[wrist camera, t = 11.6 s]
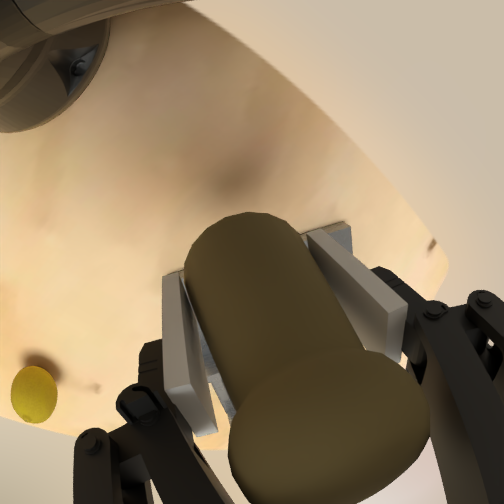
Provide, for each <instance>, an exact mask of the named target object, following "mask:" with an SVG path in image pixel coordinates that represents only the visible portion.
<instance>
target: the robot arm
mask: <svg viewBox="0 0 504 504" xmlns="http://www.w3.org/2000/svg"><path fill="white" fill-rule="evenodd" d="M185 1H192V0H0V133H13V132H21V131H26V130H30V129H33V128H36V127H39V126H41V125H43V124H45V123H47V122H49V121H51V120H52V119H54V118H55V117H57V116H58V115H60V114H61V113H62V112H64V111H65V110H66V109H67V108H68V107H69V106H71V105H72V104H73V103H74V102H75V101H76V99H77V98H78V97H79V96H80V95H81V94H82V93H83V91H84V90H85V89H86V87H87V86H88V85H89V83H90V82H91V80H92V79H93V77H94V75H95V74H96V72H97V70H98V68H99V66H100V64H101V62H102V59H103V57H104V54H105V51H106V48H107V44H108V40H109V33H110V17H113V16H116V15H120V14H124V13H128V12H132V11H136V10H140V9H144V8H149V7H154V6H159V5H165V4H171V3H178V2H185ZM306 236H307V243H308V250H309V251H310V253H311V255H312V256H313V258H314V260H315V261H316V263H317V265H318V266H319V268H320V270H321V272H322V273H323V275H324V277H325V279H326V280H327V282H328V284H329V285H330V287H331V289H332V291H333V292H334V294H335V296H336V298H337V299H338V301H339V303H340V305H341V307H342V308H343V310H344V312H345V314H346V316H347V317H348V319H349V321H350V323H351V325H352V326H353V328H354V330H355V332H356V334H357V335H358V337H359V339H360V341H361V343H362V344H363V346H364V347H365V348H366V350H368V351H374V352H380V353H382V354H384V355H386V356H387V357H389V358H390V359H392V360H393V361H395V362H396V363H399V362H400V360H401V354H402V352H403V353H404V354H405V355H406V356H407V357H408V360H407V365H406V371H407V372H408V373H409V374H410V375H411V376H412V377H413V378H414V379H415V381H416V382H417V383H418V384H419V385H420V386H421V388H422V389H423V392H424V394H425V397H426V399H427V401H428V404H429V407H430V437H431V441H432V445H433V448H434V451H435V455H436V459H437V463H438V466H439V470H440V474H441V478H442V482H443V486H444V491H445V495H446V500H447V504H504V302H503V301H502V300H501V299H500V298H498V297H497V296H496V295H495V294H493V293H491V292H489V291H486V290H476V291H473V292H472V293H471V294H469V297H468V300H467V304H464V305H460V306H455V307H448V306H447V305H446V304H444V303H442V302H440V301H435V300H431V301H426V300H425V299H424V298H423V297H421V296H420V295H419V294H418V293H417V292H416V291H414V290H413V289H412V288H411V287H410V286H408V285H407V284H406V283H404V281H402V280H401V279H400V278H398V276H396V275H395V274H394V273H393V272H392V271H390V270H388V269H385V268H383V267H380V266H378V267H376V268H373V269H368V268H367V267H366V266H365V265H364V264H363V263H361V262H360V261H359V260H358V259H357V258H356V257H354V256H353V255H352V254H351V253H350V252H349V251H347V250H346V249H345V248H344V247H343V246H342V245H340V244H339V243H338V242H337V241H336V240H334V239H333V238H332V237H331V236H330V235H328V234H327V233H326V232H325V231H323V230H322V229H321V228H320V229H317V230H314V231H310V232H307V233H306ZM489 339H490V340H491V341H492V342H493V343H494V345H493V346H490V345H489V344H488V341H489ZM138 373H139V375H138V383H136V384H132V385H130V386H128V387H127V388H125V389H124V390H123V391H122V392H121V393H120V394H119V396H118V398H117V401H116V410H117V411H118V412H119V413H120V415H121V416H122V417H123V418H124V419H125V420H126V421H127V423H126V424H125V425H123V426H121V427H119V428H117V429H115V430H113V431H111V432H109V433H107V432H106V431H105V430H103V429H100V428H90V429H88V430H85V431H84V432H83V433H82V434H80V435H79V437H78V438H77V440H76V443H75V447H74V468H73V499H74V501H73V504H154V501H153V495H152V489H151V483H150V479H152V481H153V483H154V486H155V488H156V490H157V492H158V494H159V496H160V498H161V500H162V502H163V504H234V502H233V500H232V499H231V498H230V496H229V495H228V493H227V492H226V490H225V489H224V487H223V486H222V484H221V483H220V481H219V480H218V478H217V477H216V475H215V474H214V472H213V471H212V469H211V468H210V466H209V464H208V463H207V461H206V460H205V458H204V457H203V455H202V453H201V452H200V450H199V448H198V447H197V445H196V444H195V443H194V440H193V434H192V431H193V433H194V434H195V435H196V437H200V436H204V435H208V434H212V433H216V432H218V428H217V423H216V419H215V414H214V409H213V405H212V400H211V395H210V390H209V385H208V380H207V375H206V370H205V364H204V359H203V354H202V348H201V343H200V337H199V331H198V325H197V319H196V317H195V314H194V312H193V309H192V306H191V304H190V301H189V299H188V296H187V294H186V291H185V288H184V286H183V283H182V280H181V278H180V275H179V272H175V273H172V274H169V275H165V276H162V339H159V340H155V341H152V342H148V343H145V344H144V346H143V347H142V349H141V351H140V353H139V368H138Z"/></svg>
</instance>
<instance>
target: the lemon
mask: <svg viewBox="0 0 504 504" xmlns="http://www.w3.org/2000/svg"><path fill="white" fill-rule="evenodd" d="M11 402H12V405H13V408H14V410H15V411H16V413H17V414H18V415H19V416H20V417H21V418H22V419H23V420H24V421H25V422H29V423H42V422H44V421H46V420H47V419H48V418H49V417H50V416H51V414H52V412H53V411H54V409H55V406H56V403H57V387H56V383H55V381H54V379H53V378H52V376H51V375H50V374H49V373H48V372H47V371H46V370H44V369H43V368H40V367H37V366H28V367H25V368H23V369H22V370H20V371H19V372H18V374H17V375H16V377H15V378H14V380H13V383H12V388H11Z"/></svg>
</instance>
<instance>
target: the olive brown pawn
mask: <svg viewBox="0 0 504 504" xmlns="http://www.w3.org/2000/svg"><path fill="white" fill-rule="evenodd" d="M183 282H184V285H185V288H186V291H187V294H188V297H189V300H190V303H191V305H192V308H193V311H194V313H195V316H196V318H197V321H198V323H199V326H200V328H201V331H202V333H203V336H204V338H205V341H206V343H207V345H208V348H209V350H210V353H211V355H212V357H213V360H214V362H215V364H216V367H217V369H218V371H219V374H220V376H221V378H222V380H223V383H224V385H225V387H226V390H227V392H228V394H229V396H230V398H231V401H232V403H233V405H234V407H235V409H236V411H237V412H236V414H235V416H234V417H233V419H232V423H231V428H230V434H229V444H228V459H229V464H230V468H231V472H232V476H233V478H234V479H235V481H236V483H237V484H238V486H239V488H240V489H241V491H242V493H243V494H244V496H245V497H246V499H247V500H248V501H249V503H251V504H357V503H359V502H361V501H363V500H365V499H367V498H369V497H370V496H372V495H374V494H376V493H377V492H379V491H380V490H382V489H384V488H385V487H386V486H388V485H389V484H390V483H392V482H393V481H394V480H395V479H397V478H398V477H399V476H400V475H401V474H402V473H404V472H405V471H406V470H407V469H408V468H409V467H410V466H411V465H412V464H413V463H414V462H415V461H416V460H417V459H418V457H419V456H420V454H421V452H422V451H423V449H424V447H425V445H426V443H427V441H428V439H429V437H430V407H429V404H428V401H427V399H426V397H425V394H424V392H423V389H422V388H421V386H420V385H419V384H418V383H417V382H416V381H415V379H414V378H413V377H412V376H411V375H410V374H409V373H408V372H407V371H406V370H405V369H404V368H403V367H401V366H400V365H399V364H398V363H396V362H395V361H393V360H392V359H390V358H389V357H387V356H386V355H384V354H382V353H380V352H374V351H368V350H365V348H364V347H363V345H362V343H361V341H360V339H359V337H358V335H357V334H356V332H355V330H354V328H353V326H352V325H351V323H350V321H349V319H348V317H347V316H346V314H345V312H344V310H343V308H342V307H341V305H340V303H339V301H338V299H337V298H336V296H335V294H334V292H333V291H332V289H331V287H330V285H329V284H328V282H327V280H326V279H325V277H324V275H323V273H322V272H321V270H320V268H319V266H318V265H317V263H316V261H315V260H314V258H313V256H312V255H311V253H310V251H309V250H308V248H307V246H306V245H305V243H304V241H303V240H302V238H301V236H300V235H299V233H298V232H297V231H296V230H295V229H294V228H293V227H291V226H290V225H289V224H288V223H287V222H286V221H284V220H282V219H280V218H277V217H275V216H273V215H270V214H268V213H255V212H245V213H241V214H236V215H232V216H228V217H225V218H223V219H222V220H220V221H218V222H217V223H215V224H213V225H212V226H210V227H208V228H207V229H206V230H205V231H204V232H203V233H202V234H201V235H200V236H199V238H198V239H197V240H196V241H195V242H194V243H193V244H192V247H191V249H190V251H189V254H188V256H187V258H186V261H185V263H184V281H183Z"/></svg>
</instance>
